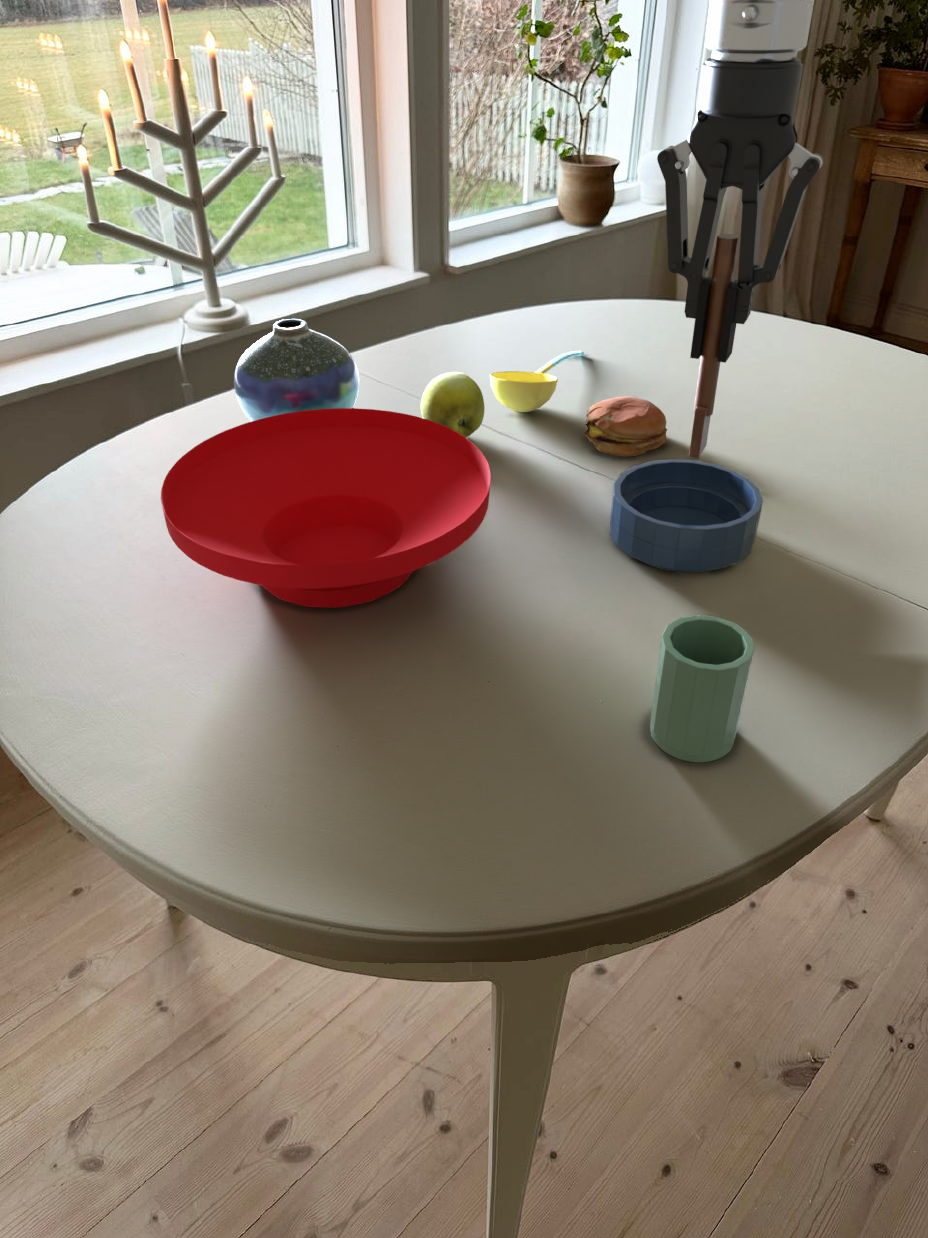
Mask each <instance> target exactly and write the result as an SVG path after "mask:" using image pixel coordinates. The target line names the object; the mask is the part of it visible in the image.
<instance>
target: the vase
mask: <svg viewBox="0 0 928 1238" xmlns="http://www.w3.org/2000/svg"><path fill="white" fill-rule="evenodd" d="M272 326H273V327H272V332H270V333H268V334H267V335H264V336H263V337H261V338H260V339H259V340H257V341H256V342H255V343H253V344H252V345H251V346H250V347H249V348H247V349H246V350H245V351H244V353H243V354H242V355H241V356H240V358H239V359H238V362H237V364H236V366H235V370H234V375H233V386H234V392H235V396H236V399H237V403H238V404H239V407H240V408H241V410H242V412H243V414H244V415H245V416H246V417H247V419H249V420H250V422H252V421H255V420H259V419H262V418H267V417H271V416H275V415H280V414H286V413H292V412H298V411H307V410H317V409H336V408H355V406H356V403H357V401H358V398H359V393H360V374H359V369H358V367H357V363H356V361H355V360H354V358H353V356H352V355H351V353H350V352H349V351H348V350H347V349H346V347H345V346H343V344H341V343H340V342H339V341H337V340H335V339H333V338H331V337H329V336H328V335H325V334H324V333H320V332H318V331H315V330H312V329H310V328H309V326H308V323H307V321H306V320H303V319H300V318H291V319H290V318H289V319H281V320H279V321H276V322H275V323H274V324H273V325H272Z"/></svg>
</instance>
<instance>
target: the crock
mask: <svg viewBox="0 0 928 1238" xmlns="http://www.w3.org/2000/svg"><path fill="white" fill-rule="evenodd" d="M755 650H756V646H755V643H754V640H753V639H752V636H751V635H750V633H748V632H747V631H746V630H745V629H744V628H742V627H741V626H740V625H739V624H737V623H735V622H732V621H730V620H727V619H724V618H721V617H719V616H713V615H704V614H694V615H687V616H682V617H678V618H677V619H675V620H673V621H672V622H670V623H668V624H667V625H666V627H665V628H664V631H663V633H662V635H661V640H660V646H659V653H658V662H657V669H656V676H655V682H654V689H653V690H654V691H653V697H652V704H651V711H650V719H649V720H650V724H649V732H650V736H651V738H652V740H653V742H654V743H655V744H656V746H657V747H659V749H661V751H663V752H664V753H666V754H667V755H669V756H671V757H673V758H675V759H678V760H680V761H681V760H682V761H685V762H690V763H709V762H713V761H716V760H720V759H721V758H723V757H725V756H727V754H729V752H730V751H731V750H732V748H733V747H734V744H735V740H736V736H737V732H738V728H739V723H740V719H741V714H742V709H743V705H744V701H745V697H746V692H747V687H748V684H749V683H748V682H749V678H750V673H751V668H752V663H753V660H754V654H755Z"/></svg>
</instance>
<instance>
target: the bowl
mask: <svg viewBox="0 0 928 1238" xmlns="http://www.w3.org/2000/svg"><path fill="white" fill-rule="evenodd" d="M491 474H492V473H491V469H490V465H489V462H488V460H487V459H486V457H485V455H484V453H483V452H482V450H481V449H479V448H478V447H477V445H476V444H474V443H473V442H472V441H471V440H470V439H468V437H466V438H465V437H464V436H463V435H461V434H459V433H458V432H456V431H454V430H452V429H450V428H448V427H446V426H444V425H441V424H438V423H436V422H433V421H430V420H427V419H423V417H421V416H420V417H419V416H417V415H413V414H408V413H403V412H397V411H391V410H382V409H372V408H355V407H354V408H336V409H317V410H307V411H298V412H292V413H286V414H280V415H275V416H271V417H267V418H262V419H259V420H255V421H249V422H245V423H242V424H240V425H237V426H233V427H231V428H229V429H226V430H224V431H223V430H222V431H221V432H219V433H217V434H215V435H213V436H211V437H209V438H207V439H205V440H203V441H201V442H200V443H198V444H197V445H195V446H194V447H192V448H191V449H190V450H189V451H187V452H186V453H185V454H183V455H182V456H181V457H180V458H179V459H178V460H177V461H176V462H174V464H173V465H172V467H171V468H170V470H169V471H168V472H167V474H166V476H165V478H164V479H163V482H162V485H161V490H160V503H161V507H162V513H163V516H164V520H165V525H166V529H167V532H168V534H169V537H170V538H171V540H172V542H173V543H174V544H175V546H176V547H177V548H178V549H179V550H180V551H181V552H182V553H183V554H184V555H185V556H186V557H188V558H189V559H190V560H192V561H194V562H195V563H196V564H198V565H199V566H202V567H203V568H205V569H208V570H209V571H211V572H214V573H216V574H219V575H221V576H225V577H227V578H230V579H234V580H237V581H241V582H245V583H250V584H253V585H259V586H262V588H263V589H264V590H266V591H267V592H269V593H270V594H271V595H272V596H274V597H275V598H278V599H279V600H282V601H284V602H288V603H291V604H295V605H299V606H302V607H308V608H346V607H350V606H355V605H360V604H365V603H369V602H372V601H376V600H377V599H380V598H382V597H384V596H387V595H388V594H390V593H392V592H394V591H395V590H397V589H398V588H400V587H401V586H402V585H403V584H404V583H406V581H407V580H408V579H409V577H410V576H411V575H412V574H413V572H414V571H416V570H420V569H421V568H424V567H426V566H428V565H430V564H433V563H435V562H437V561H439V560H441V559H442V558H444V557H446V556H448V555H449V554H451V553H452V552H453V551H455V550H457V549H458V548H459V547H461V546H462V545H463V544H465V542H467V541H468V540H469V539H470V538H471V537H472V536H473V535H474V534H475V532H476V531H477V530H478V529H479V528H480V526H481V525H482V523H483V521H484V519H485V517H486V515H487V512H488V510H489V502H490V493H491V480H492V479H491V478H492V475H491Z"/></svg>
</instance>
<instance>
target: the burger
mask: <svg viewBox="0 0 928 1238" xmlns="http://www.w3.org/2000/svg"><path fill="white" fill-rule="evenodd" d="M584 425H585V426H586V428H587V429H586V430H585V431H583V435H585V436H586V437H587V438H588V441H589V442H590V444H591V443H592V444H594V446H595V449H596V450H597V451H599V452H600V453H602V454H605V455H609V456H610V455H611V456H613V457H614V456H615V457H623V458H626V457H628V458H629V457H637V456H640V455H643V454H645V453H646V452H649V451H654V450H656V449H658V448H660V447H662V446H663V445H665V444H666V442H667V431H668V428H667V417H666V415H665V414H664V412H663V411H662V410H661V408H659V407H658V406H657V405H656V404H654V403H652V402H651V401H649V400H647V399H643V398H639V397H635V396H629V395H628V396H617V397H612V398H607V399H603V400H600V401H598V402H596V403H594V404H593V405H591V406H590V407H589V408H588V409H587V410H586V421H585V424H584Z"/></svg>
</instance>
